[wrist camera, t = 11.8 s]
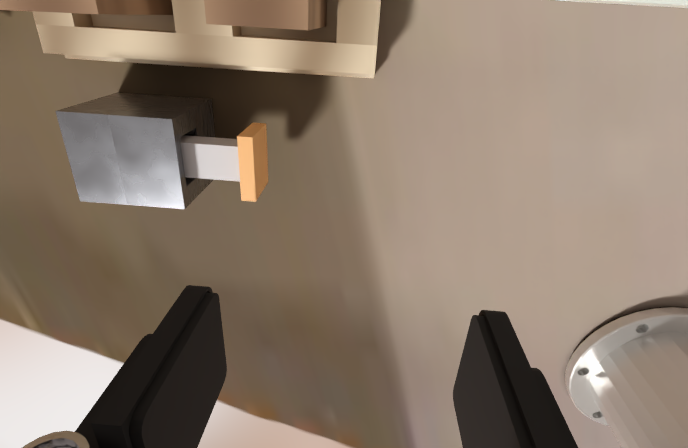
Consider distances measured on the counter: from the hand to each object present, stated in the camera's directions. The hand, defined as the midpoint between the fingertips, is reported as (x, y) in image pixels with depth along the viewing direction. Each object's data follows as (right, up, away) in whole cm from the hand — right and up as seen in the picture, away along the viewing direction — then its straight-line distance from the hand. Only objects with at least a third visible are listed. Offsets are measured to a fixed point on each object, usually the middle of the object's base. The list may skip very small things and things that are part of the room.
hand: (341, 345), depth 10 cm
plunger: (-7, +8, +14) cm, 17 cm away
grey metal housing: (-11, +9, +16) cm, 22 cm away
